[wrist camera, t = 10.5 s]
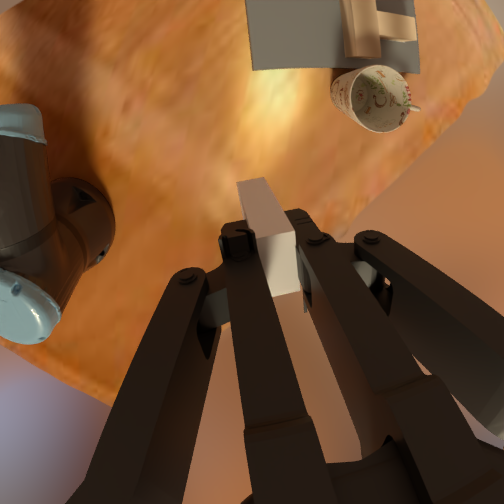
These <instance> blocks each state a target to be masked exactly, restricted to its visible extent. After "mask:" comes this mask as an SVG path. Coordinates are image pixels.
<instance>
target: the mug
mask: <svg viewBox="0 0 504 504" xmlns="http://www.w3.org/2000/svg"><path fill="white" fill-rule="evenodd" d="M330 95H331V99H332V102H333V104H334V105H335V106H336V108H337V109H339V110H340V111H341V112H343V113H344V114H346V115H347V116H349V117H350V118H351V119H353V120H354V121H356V122H357V123H358V124H360V125H361V126H363V127H364V128H366V129H368V130H370V131H373V132H377V133H387V132H391V131H394V130H396V129H397V128H399V127H400V126H401V125H402V124H403V123H404V122H405V120H406V119H407V117H408V115H409V112H410V110H413V111H420V110H421V109H420V107H418V106H414V105H411V94H410V90H409V87H408V85H407V83H406V81H405V80H404V78H403V77H402V76H401V75H400V74H399V73H398V72H397V71H396V70H394V69H392V68H390V67H388V66H385V65H370V66H366V67H363V68H360V69H357V70H354V71H351V72H348V73H345V74H343V75H341V76H339V77H337V78H336V79H335V80H334V82H333V83H332V86H331V90H330Z"/></svg>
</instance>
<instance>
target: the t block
mask: <svg viewBox="0 0 504 504" xmlns="http://www.w3.org/2000/svg"><path fill="white" fill-rule="evenodd" d="M339 4H340V12H341V20H342V29H343V39H344V50H345V57H346V58H365V59H371V58H381V46H380V39H385V40H393V41H400V42H406V41H417V34H416V25H415V18H414V17H409V16H404V15H399V14H394V13H388V12H381V11H377V9H376V1H375V0H339Z"/></svg>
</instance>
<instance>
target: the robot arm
mask: <svg viewBox="0 0 504 504" xmlns="http://www.w3.org/2000/svg"><path fill="white" fill-rule="evenodd" d="M46 145H47V141H46V139H45V137H44V129H43V121H42V114H41V112H40V110H39V109H38V108H37V107H36V106H34V105H32V104H5V105H0V336H2V337H4V338H6V339H8V340H10V341H13V342H16V343H21V344H37V343H40V342H42V341H44V340H45V339H46V338H47V337H48V336H49V335H50V334H51V332H52V330H53V329H54V327H55V325H56V324H57V323H58V322H59V321H60V319H61V315H62V313H63V311H64V309H65V307H66V305H67V303H68V301H69V299H70V297H71V295H72V293H73V291H74V289H75V287H76V285H77V283H78V281H79V279H80V277H81V276H82V274H83V273H84V272H86V271H87V270H89V269H90V268H92V267H94V266H95V265H97V264H98V263H99V262H100V261H101V260H102V259H103V258H104V257H105V256H106V254H107V252H108V251H109V249H110V247H111V245H112V243H113V240H114V235H115V220H114V216H113V212H112V210H111V207H110V205H109V203H108V202H107V200H106V199H105V197H104V196H103V195H102V194H101V193H100V192H99V191H98V190H97V189H96V188H95V187H94V186H92V185H91V184H89V183H87V182H85V181H83V180H80V179H76V178H60V179H57V180H54V181H52V182H50V176H49V169H48V161H47V152H46ZM237 188H238V193H239V199H240V204H241V210H242V215H243V220H240V221H235V222H231V223H226V224H224V226H223V227H222V229H221V235H220V236H219V239H218V242H219V246H220V250H221V254H222V258H223V263H222V264H221V265H220V266H219V267H218V268H216V269H215V270H213V271H211V272H208V273H205V271H204V270H203V269H201V268H197V267H191V268H185V269H182V270H180V271H178V272H177V273H175V274H174V275H173V276H172V278H171V279H170V281H169V283H168V285H167V287H166V289H165V291H164V293H163V295H162V297H161V299H160V301H159V304H158V306H157V308H156V310H155V312H154V314H153V316H152V318H151V320H150V323H149V325H148V327H147V329H146V331H145V333H144V336H143V338H142V340H141V342H140V344H139V347H138V349H137V351H136V353H135V355H134V358H133V360H132V362H131V364H130V367H129V369H128V371H127V374H126V376H125V378H124V381H123V383H122V385H121V388H120V390H119V392H118V395H117V397H116V400H115V402H114V404H113V407H112V409H111V412H110V414H109V417H108V419H107V422H106V424H105V427H104V429H103V432H102V434H101V437H100V439H99V442H98V445H97V447H96V450H95V453H94V455H93V458H92V460H91V463H90V466H89V469H88V471H87V474H86V477H85V480H84V481H83V482H82V484H81V485H80V486H79V487H78V489H77V490H76V491H75V492H74V493H73V495H72V496H71V497H70V499H69V500H68V501H67V502H66V503H65V504H182V501H183V496H184V492H185V487H186V483H187V478H188V474H189V469H190V464H191V460H192V456H193V451H194V447H195V442H196V438H197V434H198V429H199V425H200V421H201V416H202V412H203V407H204V403H205V398H206V394H207V390H208V386H209V381H210V377H211V373H212V369H213V364H214V360H215V356H216V351H217V347H218V343H219V339H220V335H221V325H223V324H225V323H227V322H230V323H231V331H232V338H233V346H234V352H235V361H236V368H237V375H238V381H239V389H240V396H241V403H242V409H243V416H244V423H245V429H244V442H245V449H246V455H247V462H248V468H249V474H250V481H251V487H252V494H251V495H249V496H248V497H247V498H246V499H245V500H244V501H242V502H241V504H504V447H503V450H502V449H500V448H497V447H494V446H493V445H490V444H488V443H486V442H483V441H481V440H479V439H477V438H476V437H475V435H474V434H473V431H472V430H471V428H470V426H469V424H468V423H467V421H466V419H465V417H464V415H463V414H462V412H461V410H460V409H459V407H458V405H457V403H456V402H455V400H454V399H453V397H452V395H453V396H454V397H455V398H456V399H457V400H458V401H459V402H460V403H461V404H462V405H463V406H464V407H465V408H466V409H467V410H468V411H469V412H470V413H471V414H472V415H473V416H474V417H475V419H476V420H478V421H479V422H480V423H481V424H482V425H483V426H484V427H485V428H486V429H488V430H489V431H490V432H491V433H493V434H494V435H496V436H497V437H499V438H501V439H502V440H504V317H503V316H502V315H501V314H499V313H498V312H497V311H495V310H494V309H493V308H492V307H490V306H489V305H488V304H486V303H485V302H484V301H482V300H481V299H479V298H478V297H477V296H475V295H474V294H473V293H471V292H470V291H469V290H467V289H466V288H464V287H463V286H462V285H460V284H459V283H457V282H456V281H455V280H453V279H452V278H450V277H449V276H447V275H446V274H445V273H443V272H442V271H440V270H439V269H437V268H436V267H434V266H433V265H431V264H430V263H428V262H427V261H425V260H424V259H422V258H421V257H419V256H418V255H416V254H415V253H413V252H412V251H410V250H409V249H407V248H406V247H404V246H403V245H401V244H399V243H398V242H396V241H395V240H393V239H392V238H390V237H388V236H387V235H385V234H383V233H381V232H379V231H374V230H366V231H362V232H359V233H358V234H356V236H355V237H354V243H338V242H336V241H335V240H334V238H333V237H332V236H331V235H329V234H327V233H324V232H321V231H320V230H319V229H318V227H317V226H316V224H315V223H314V222H313V220H312V219H311V218H310V216H309V215H308V213H307V212H306V211H304V210H302V209H300V208H298V209H293V210H288V211H283V209H282V207H281V206H280V204H279V202H278V200H277V199H276V197H275V195H274V194H273V192H272V190H271V188H270V187H269V185H268V183H267V182H266V180H265V178H264V177H262V178H256V179H251V180H246V181H240V182H237ZM385 277H386V278H387V279H388V280H389V281H390V286H389V285H387V284H386V283H385ZM300 283H301V285H302V287H303V301H304V313H305V312H307V308H308V311H309V313H310V315H311V318H312V320H313V323H314V325H315V327H316V330H317V333H318V335H319V337H320V340H321V342H322V345H323V347H324V350H325V352H326V355H327V357H328V360H329V362H330V365H331V367H332V369H333V372H334V375H335V377H336V380H337V382H338V385H339V388H340V390H341V393H342V395H343V397H344V400H345V403H346V406H347V408H348V411H349V413H350V416H351V419H352V421H353V424H354V426H355V429H356V432H357V434H358V437H359V440H360V445H361V455H362V460H359V461H355V462H342V463H326V462H325V459H324V456H323V452H322V449H321V446H320V442H319V439H318V436H317V433H316V429H315V426H314V424H313V421H312V419H311V417H310V416H309V415H308V413H307V411H306V408H305V405H304V401H303V398H302V395H301V391H300V388H299V384H298V381H297V378H296V374H295V371H294V368H293V364H292V361H291V358H290V354H289V351H288V348H287V345H286V342H285V338H284V335H283V332H282V328H281V325H280V322H279V318H278V315H277V312H276V308H275V305H274V302H273V299H272V297H274V296H278V295H283V294H287V293H292V292H297V291H300ZM412 355H413V356H414V357H415V358H416V359H417V360H418V361H419V362H420V363H422V365H423V366H424V367H425V368H426V369H427V370H429V372H430V373H431V374H432V375H425V374H424V373H423V372H422V371H421V369H420V367H419V366H418V364H417V362H416V361H415V359H414V357H413V356H412ZM451 394H452V395H451Z"/></svg>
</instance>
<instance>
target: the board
mask: <svg viewBox="0 0 504 504" xmlns="http://www.w3.org/2000/svg"><path fill="white" fill-rule="evenodd" d="M375 1H376V9H377V11H381V12H388V13H394V14H399V15H404V16H409V17H414V18H415V25H416V34H417V24H416V15H415V8H414V0H375ZM245 6H246V15H247V24H248V33H249V42H250V51H251V60H252V69H253V71H256V70H269V69H288V68H353V69H360V68H363V67H366V66H370V65H385V66H388V67H390V68H392V69H394V70H396V71H397V72H405V73H414V74H420V61H419V46H418V34H417V41H406V42H400V41H393V40H385V39H380V46H381V58H371V59H365V58H346V57H345V50H344V39H343V29H342V20H341V12H340V4H339V0H245Z"/></svg>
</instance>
